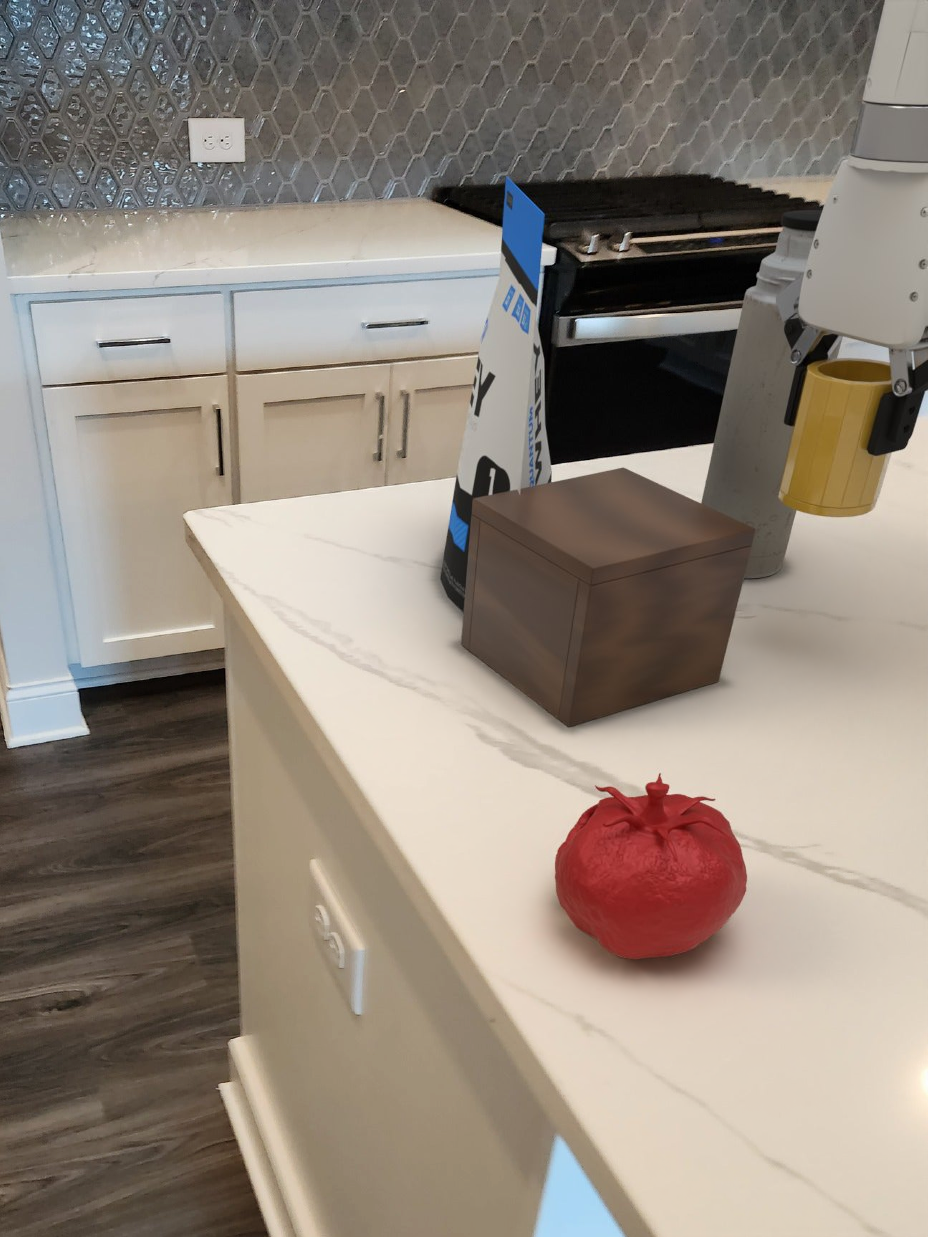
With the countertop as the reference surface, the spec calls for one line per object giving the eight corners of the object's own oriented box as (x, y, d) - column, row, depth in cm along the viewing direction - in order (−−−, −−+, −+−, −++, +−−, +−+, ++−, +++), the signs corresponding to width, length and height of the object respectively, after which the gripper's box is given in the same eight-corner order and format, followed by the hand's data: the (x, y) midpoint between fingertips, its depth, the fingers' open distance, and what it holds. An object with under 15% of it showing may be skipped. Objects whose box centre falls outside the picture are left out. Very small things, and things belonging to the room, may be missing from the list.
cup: (823, 478, 83) (855, 352, 78) (896, 506, 79) (935, 374, 73) (758, 494, 81) (786, 366, 76) (828, 524, 76) (864, 390, 71)
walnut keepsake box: (600, 608, 93) (623, 466, 86) (719, 681, 83) (756, 528, 76) (460, 644, 88) (472, 498, 81) (568, 727, 78) (593, 568, 71)
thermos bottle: (747, 538, 104) (829, 201, 87) (800, 572, 98) (898, 217, 81) (673, 548, 102) (741, 207, 86) (722, 583, 96) (806, 223, 79)
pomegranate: (767, 954, 60) (813, 816, 54) (606, 1000, 57) (637, 860, 51) (661, 847, 67) (692, 716, 61) (515, 884, 64) (533, 751, 59)
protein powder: (530, 530, 107) (564, 174, 90) (567, 640, 88) (618, 212, 70) (433, 531, 108) (448, 177, 90) (447, 641, 88) (469, 216, 71)
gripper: (1099, 144, 61) (989, 463, 72) (850, 122, 74) (788, 397, 85) (1009, 155, 59) (908, 484, 70) (766, 131, 71) (713, 413, 82)
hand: (843, 434), depth 77 cm, fingers closed on cup, 6 cm apart
